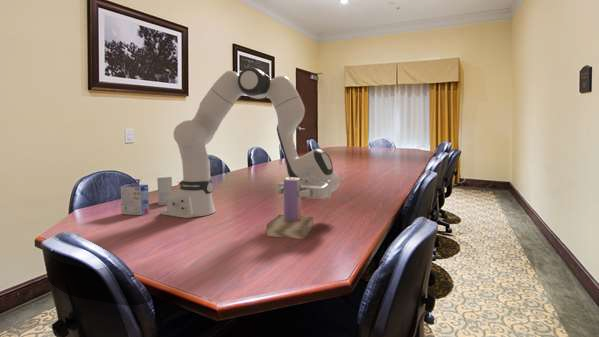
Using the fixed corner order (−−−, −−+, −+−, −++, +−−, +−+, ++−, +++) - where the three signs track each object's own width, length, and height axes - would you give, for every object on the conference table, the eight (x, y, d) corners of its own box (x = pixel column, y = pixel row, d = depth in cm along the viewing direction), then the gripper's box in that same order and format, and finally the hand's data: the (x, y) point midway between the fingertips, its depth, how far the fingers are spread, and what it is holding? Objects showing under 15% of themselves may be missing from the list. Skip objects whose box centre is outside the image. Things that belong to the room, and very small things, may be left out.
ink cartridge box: (150, 212, 155) (148, 179, 153) (142, 215, 150) (140, 181, 148) (130, 211, 157) (127, 178, 155) (121, 214, 152) (119, 180, 150)
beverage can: (289, 224, 122) (289, 180, 120) (280, 220, 127) (280, 178, 125) (304, 221, 125) (304, 178, 123) (295, 217, 130) (295, 176, 128)
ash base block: (266, 235, 123) (266, 224, 122) (279, 225, 135) (279, 214, 135) (303, 239, 119) (303, 227, 119) (313, 227, 132) (313, 217, 131)
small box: (173, 204, 170) (171, 177, 168) (158, 205, 168) (156, 177, 166) (172, 200, 177) (171, 174, 176) (158, 201, 175) (157, 175, 174)
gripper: (289, 176, 141) (266, 180, 130) (334, 181, 129) (313, 186, 118) (289, 191, 142) (266, 198, 131) (334, 198, 130) (313, 205, 119)
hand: (288, 192), depth 125 cm, fingers open, 7 cm apart
